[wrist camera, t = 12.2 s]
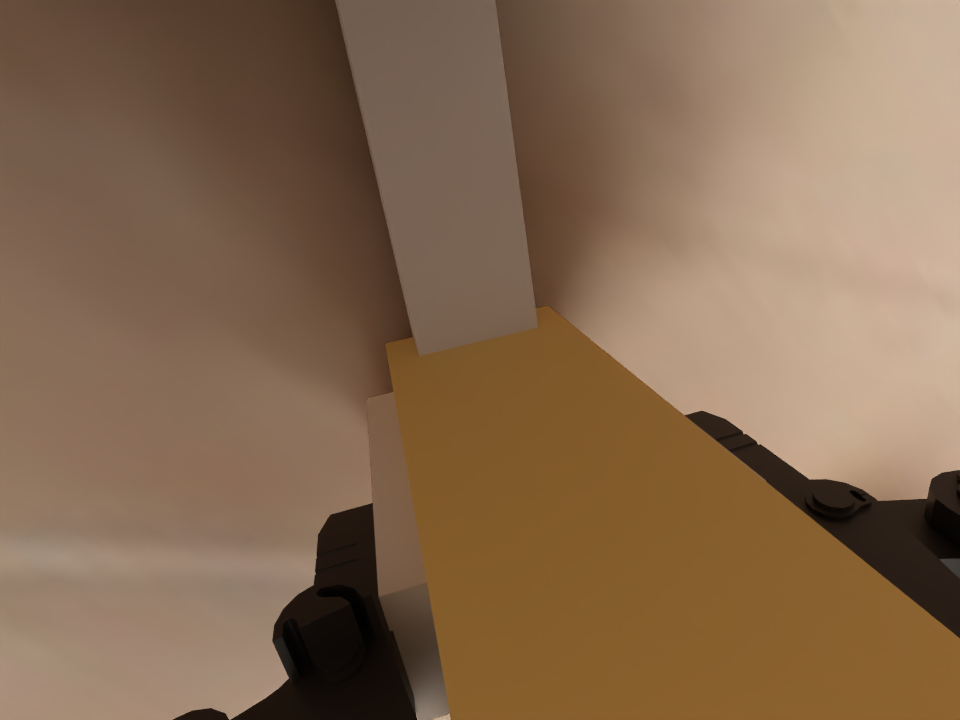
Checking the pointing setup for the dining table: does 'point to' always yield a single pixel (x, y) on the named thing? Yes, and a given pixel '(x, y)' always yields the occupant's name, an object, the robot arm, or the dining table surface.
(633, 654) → the rake tool
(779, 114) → the dining table surface
